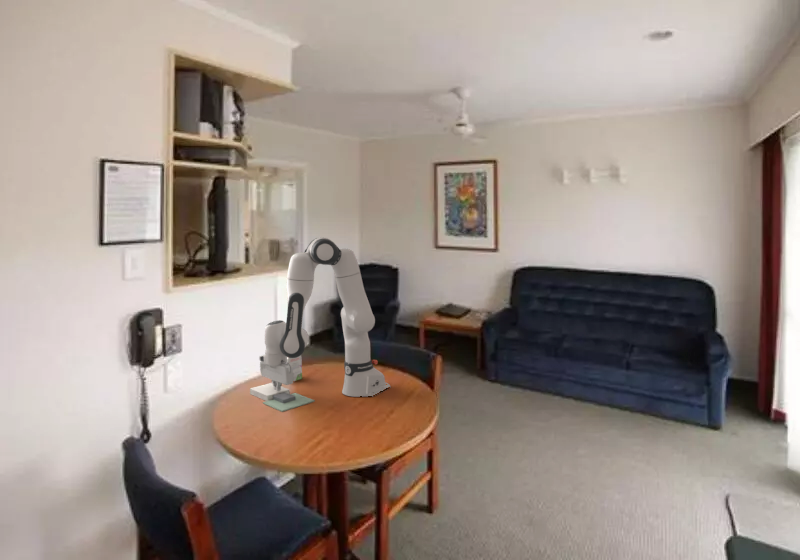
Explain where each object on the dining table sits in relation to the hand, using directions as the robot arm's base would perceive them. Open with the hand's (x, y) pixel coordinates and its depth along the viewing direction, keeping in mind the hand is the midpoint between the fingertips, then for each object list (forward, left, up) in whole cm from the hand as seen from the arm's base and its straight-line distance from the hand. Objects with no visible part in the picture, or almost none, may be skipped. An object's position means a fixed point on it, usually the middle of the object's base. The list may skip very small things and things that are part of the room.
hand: (277, 390), depth 211 cm
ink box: (-18, -16, -4) cm, 25 cm away
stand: (0, -6, -3) cm, 7 cm away
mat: (0, +8, -3) cm, 9 cm away
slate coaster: (0, +5, -3) cm, 6 cm away
